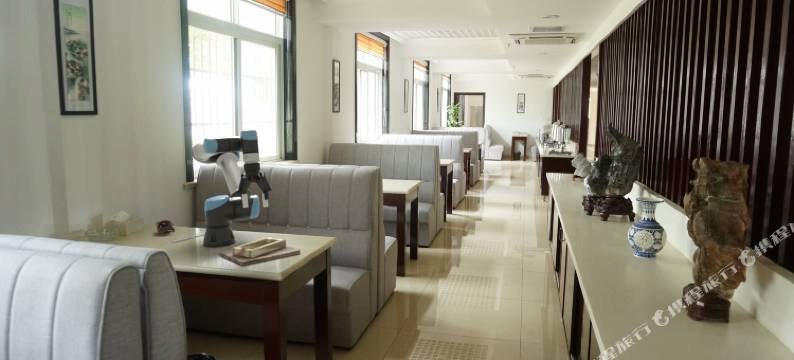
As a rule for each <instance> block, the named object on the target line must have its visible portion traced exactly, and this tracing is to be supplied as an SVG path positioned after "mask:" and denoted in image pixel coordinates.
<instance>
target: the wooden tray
mask: <svg viewBox="0 0 794 360" xmlns="http://www.w3.org/2000/svg"><path fill="white" fill-rule="evenodd" d="M286 245H287V240H286V239H283V238H277V237H276V238H275V237H270V236H269V237H267V236H266V237H262V238H259V239H257V240H256V239H255V240H253V241H250V242H247V243H243V244H241V245H237V246H234V247H232V248H231V250H232V255H238V256H245V257H251V258H253V257H256V256H259V255H262V254H265V253H267V252H270V251H273V250H276V249H279V248H282V247H285V246H286Z"/></svg>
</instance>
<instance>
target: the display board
mask: <svg viewBox="0 0 794 360" xmlns="http://www.w3.org/2000/svg"><path fill="white" fill-rule="evenodd" d="M218 253H219V254H218V255H219V256H221V257H223V258H225V259H227V260H229V261H231V262H232V263H235V264H237V265H239V266H241V267H245V266H250V265H253V264H258V263H262V262H267V261H273V260H276V259H280V258H286V257H291V256H295V255H301V250H300V249H297V248H295V247H292V246H290V245H287V244H286V246H285V247H282V248H279V249H276V250H273V251H270V252H267V253H265V254H262V255H259V256H256V257H253V258H251V257H245V256H238V255H232V249H227V250H222V251H219V252H218Z"/></svg>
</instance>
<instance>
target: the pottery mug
mask: <svg viewBox="0 0 794 360" xmlns="http://www.w3.org/2000/svg"><path fill="white" fill-rule="evenodd" d="M155 225H156V230H157V231H156V234H157V235H159V236H160V235H161V234H163V233H167V232H168V231H172V232H176V231H175V229H176V228H175V227H174V223H173V222H171V220H169V219H162V220H160V221H157V222H155Z"/></svg>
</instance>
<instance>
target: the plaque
mask: <svg viewBox="0 0 794 360" xmlns="http://www.w3.org/2000/svg"><path fill="white" fill-rule="evenodd" d="M204 235H205V233H204V232H201V233H199V234H196V235H195V234H194V235H192V236H191V235H190V236H189V235H188V236H186V237H182V238H178V239H174V240H172V242H173V244H175V243H176V244H177V243H180V242H185V241H187V240H192V239H196V238H200V237H204ZM170 241H171V240H170ZM170 241H168V243H171V242H170ZM166 242H167V241H165V242H164V244H166Z"/></svg>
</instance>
